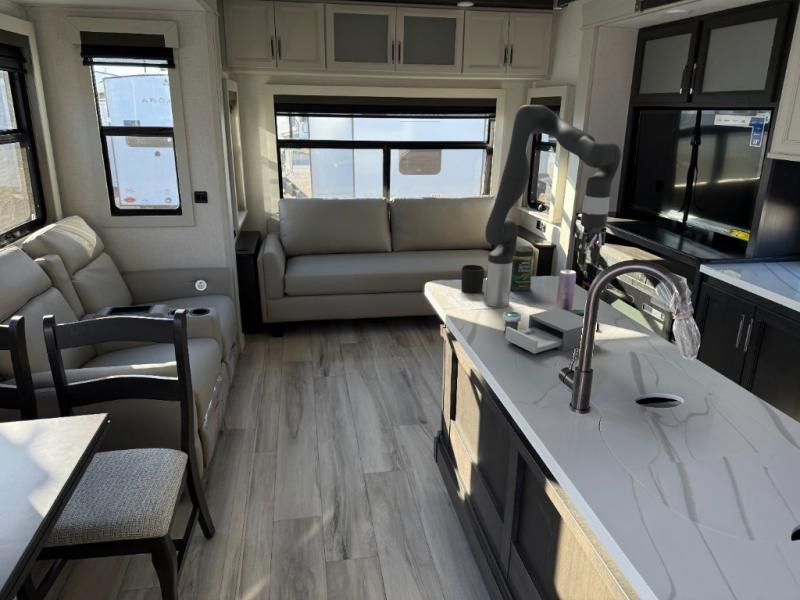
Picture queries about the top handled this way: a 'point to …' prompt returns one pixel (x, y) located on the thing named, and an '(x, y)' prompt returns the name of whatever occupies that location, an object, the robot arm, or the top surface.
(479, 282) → the pen holder
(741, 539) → the top surface
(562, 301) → the beverage can
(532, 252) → the coffee jar
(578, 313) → the disk drive
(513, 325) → the pedestal
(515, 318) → the disc
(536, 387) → the top surface
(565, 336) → the box
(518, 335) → the tray
